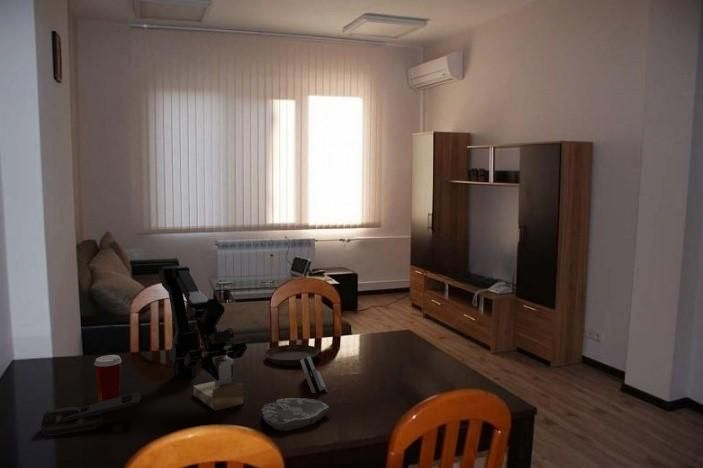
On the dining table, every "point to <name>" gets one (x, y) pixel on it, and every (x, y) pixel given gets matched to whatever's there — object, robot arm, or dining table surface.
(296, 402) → the brain slice
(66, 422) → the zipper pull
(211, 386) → the block
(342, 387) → the dining table surface
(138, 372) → the dining table surface
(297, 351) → the plant saucer
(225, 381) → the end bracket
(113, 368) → the paper cup
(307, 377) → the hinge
